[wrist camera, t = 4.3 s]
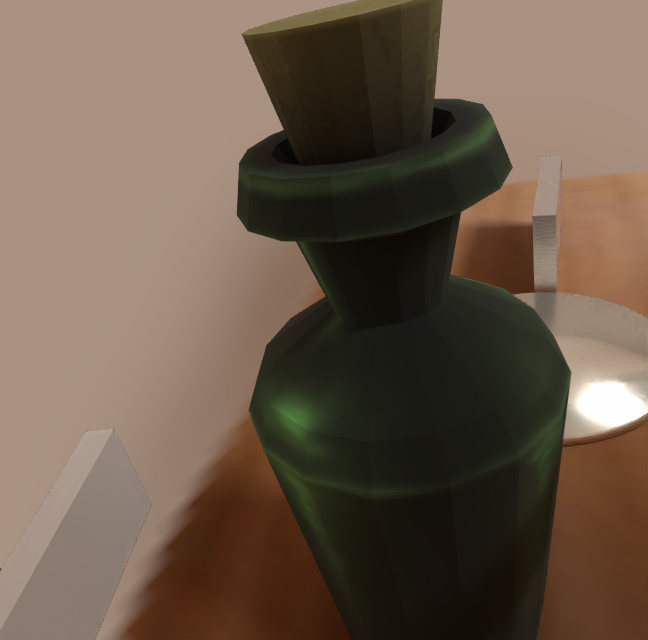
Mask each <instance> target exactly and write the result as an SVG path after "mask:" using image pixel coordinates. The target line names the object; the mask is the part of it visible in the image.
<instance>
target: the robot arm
mask: <svg viewBox="0 0 648 640" xmlns="http://www.w3.org/2000/svg"><path fill="white" fill-rule="evenodd" d="M150 507H151V502H150V500H149V498H148V496H147V494H146V492H145V490H144V488H143V486H142V484H141V482H140V480H139V478H138V476H137V474H136V472H135V470H134V468H133V466H132V464H131V462H130V460H129V458H128V456H127V454H126V452H125V450H124V448H123V446H122V444H121V442H120V440H119V438H118V436H117V434H116V432H115V430H114V429H106V430H96V431H87V432H86V433H85V434H84V436H83V438H82V439H81V441H80V443H79V444H78V446H77V448H76V449H75V451H74V452H73V454H72V456H71V457H70V459H69V460H68V462H67V464H66V465H65V467H64V469H63V470H62V472H61V473H60V475H59V477H58V478H57V480H56V482H55V483H54V485H53V486H52V488H51V490H50V491H49V493H48V494H47V496H46V498H45V499H44V501H43V503H42V504H41V506H40V507H39V509H38V511H37V512H36V514H35V516H34V517H33V519H32V521H31V522H30V524H29V525H28V527H27V528H26V530H25V532H24V533H23V535H22V537H21V538H20V540H19V541H18V543H17V545H16V546H15V548H14V550H13V551H12V553H11V555H10V556H9V558H8V559H7V561H6V563H5V565H4V566H3V567H2V569H0V640H95V638H96V636H97V634H98V631H99V628H100V626H101V624H102V622H103V619H104V617H105V615H106V612H107V610H108V607H109V605H110V602H111V600H112V597H113V595H114V593H115V591H116V588H117V586H118V583H119V581H120V579H121V576H122V574H123V571H124V569H125V567H126V564H127V562H128V559H129V557H130V555H131V552H132V550H133V547H134V545H135V543H136V540H137V538H138V535H139V533H140V530H141V528H142V526H143V523H144V521H145V519H146V516H147V514H148V511H149V509H150Z"/></svg>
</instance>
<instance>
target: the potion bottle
mask: <svg viewBox="0 0 648 640" xmlns="http://www.w3.org/2000/svg"><path fill="white" fill-rule="evenodd" d="M442 1H443V0H358V1H354V2H350V3H345V4H341V5H336V6H332V7H327V8H323V9H319V10H315V11H311V12H307V13H303V14H300V15H295V16H292V17H288V18H285V19H281V20H278V21H274V22H270V23H267V24H264V25H261V26H258V27H255V28H252V29H249V30H247V31H246V32H244V33H242V36H243V38H244V40H245V43H246V45H247V47H248V49H249V52H250V54H251V56H252V58H253V61H254V63H255V65H256V67H257V70H258V72H259V74H260V77H261V79H262V81H263V83H264V86H265V88H266V90H267V93H268V95H269V97H270V99H271V102H272V104H273V106H274V108H275V111H276V113H277V115H278V117H279V119H280V122H281V124H282V126H283V129H284V130H283V131H280V132H278V133H275V134H273V135H270V136H269V137H267V138H265V139H264V140H262V141H261V142H259V143H257V144H256V145H254V146H253V147H251V148H249V149H248V150H247V151H246V153H245V155H244V156H243V158H242V159H241V161H240V163H239V180H238V201H237V202H238V203H237V216H238V217H239V219H240V220H241V222H242V223H243V225H244V226H245V227H246V229H247V231H249V232H252V233H256V234H259V235H263V236H266V237H270V238H273V239H276V240H280V241H296V242H297V244H298V246H299V248H300V250H301V252H302V253H303V255H304V257H305V259H306V261H307V262H308V264H309V266H310V268H311V270H312V272H313V274H314V275H315V277H316V279H317V281H318V283H319V285H320V286H321V288H322V290H323V292H324V294H325V297H324V298H322V299H321V300H319V301H317V302H316V303H314V304H313V305H311V306H310V307H308V308H306V309H305V310H303V311H302V312H300V313H298V314H297V315H295V316H294V317H292V318H291V319H290V320H289V321H288V322H287V323H286V324H285V325H284V327H283V328H282V329H281V330H280V331H279V332H278V333H277V334H276V335H275V337H274V338H273V339H272V340H271V341H270V342H269V343H268V344H267V345H266V349H265V353H264V356H263V360H262V363H261V367H260V370H259V374H258V377H257V381H256V385H255V389H254V392H253V396H252V400H251V404H250V407H249V413H250V415H251V418H252V421H253V423H254V426H255V429H256V431H257V434H258V437H259V439H260V442H261V445H262V448H263V450H264V452H265V454H266V456H267V458H268V460H269V463H270V465H271V467H272V469H273V471H274V473H275V475H276V477H277V480H278V482H279V484H280V486H281V488H282V490H283V492H284V495H285V497H286V499H287V501H288V503H289V505H290V507H291V509H292V512H293V514H294V516H295V518H296V520H297V522H298V524H299V527H300V529H301V531H302V533H303V535H304V537H305V539H306V541H307V544H308V546H309V548H310V550H311V552H312V554H313V556H314V559H315V561H316V563H317V565H318V567H319V569H320V571H321V573H322V576H323V578H324V580H325V582H326V584H327V586H328V588H329V591H330V593H331V595H332V597H333V599H334V601H335V603H336V605H337V608H338V610H339V612H340V614H341V616H342V618H343V620H344V623H345V625H346V627H347V629H348V631H349V633H350V635H351V637H352V640H536V636H537V631H538V626H539V621H540V616H541V611H542V605H543V599H544V591H545V582H546V574H547V566H548V558H549V550H550V542H551V534H552V526H553V518H554V510H555V502H556V494H557V486H558V477H559V469H560V461H561V453H562V445H563V437H564V429H565V421H566V413H567V405H568V397H569V389H570V381H571V373H572V372H571V370H570V368H569V366H568V364H567V362H566V360H565V358H564V356H563V354H562V352H561V349H560V347H559V345H558V343H557V341H556V339H555V337H554V335H553V334H552V333H551V331H550V330H549V328H548V327H547V326H546V324H545V323H544V322H543V320H542V319H541V318H540V316H539V315H538V314H537V312H536V311H535V309H533V308H532V307H530V306H529V305H527V304H526V303H524V302H523V301H521V300H520V299H518V298H517V297H515V296H514V295H513V294H511V293H510V292H508V291H507V290H505V289H504V288H501V287H497V286H493V285H490V284H486V283H482V282H479V281H475V280H471V279H468V278H464V277H460V276H455V275H450V272H451V266H452V261H453V255H454V249H455V243H456V238H457V232H458V226H459V221H460V215H461V212H462V211H464V210H466V209H467V208H469V207H471V206H472V205H474V204H476V203H477V202H479V201H481V200H482V199H484V198H486V197H487V196H489V195H491V194H492V193H494V192H496V191H497V190H499V189H500V188H501V186H502V185H503V183H504V181H505V180H506V178H507V176H508V175H509V173H510V171H511V169H512V168H513V167H512V164H511V162H510V160H509V157H508V155H507V152H506V150H505V147H504V145H503V142H502V140H501V138H500V135H499V133H498V130H497V128H496V126H495V123H494V120H493V118H492V116H491V114H490V113H489V112H488V110H487V109H486V108H485V106H484V105H483V104H479V103H474V102H470V101H465V100H461V99H434V96H435V84H436V72H437V61H438V49H439V37H440V36H439V35H440V24H441V12H442Z"/></svg>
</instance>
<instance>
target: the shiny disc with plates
mask: <svg viewBox="0 0 648 640" xmlns="http://www.w3.org/2000/svg"><path fill="white" fill-rule="evenodd" d="M532 219H533V255H534V291H535V293H522V294H514V296H515V297H517V298H518V299H520V300H521V301H523V302H524V303H526V304H527V305H529V306H530V307H532V308H533V309H535V311H536V312H537V314H538V315H539V316H540V318H541V319H542V320H543V322H544V323H545V324H546V326H547V327H548V328H549V330H550V331H551V333H552V334H553V335H554V337H555V339H556V341H557V343H558V345H559V347H560V349H561V352H562V354H563V356H564V358H565V360H566V362H567V364H568V366H569V368H570V370H571V372H572V373H571V381H570V389H569V397H568V405H567V413H566V421H565V429H564V437H563V445H562V446H565V445H576V444H584V443H590V442H595V441H600V440H604V439H607V438H611V437H614V436H617V435H620V434H623V433H625V432H627V431H630V430H632V429H634V428H636V427H638V426H640V425H642V424H643V423H645V422H647V421H648V319H647V318H646V317H644V316H642V315H641V314H639V313H637V312H635V311H633V310H631V309H628V308H626V307H624V306H622V305H619V304H616V303H613V302H610V301H606V300H602V299H599V298H595V297H589V296H584V295H578V294H569V293H557V283H558V270H559V257H560V244H561V231H562V155H554V156H543V158H542V164H541V170H540V176H539V181H538V187H537V193H536V198H535V204H534V210H533V216H532Z"/></svg>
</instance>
